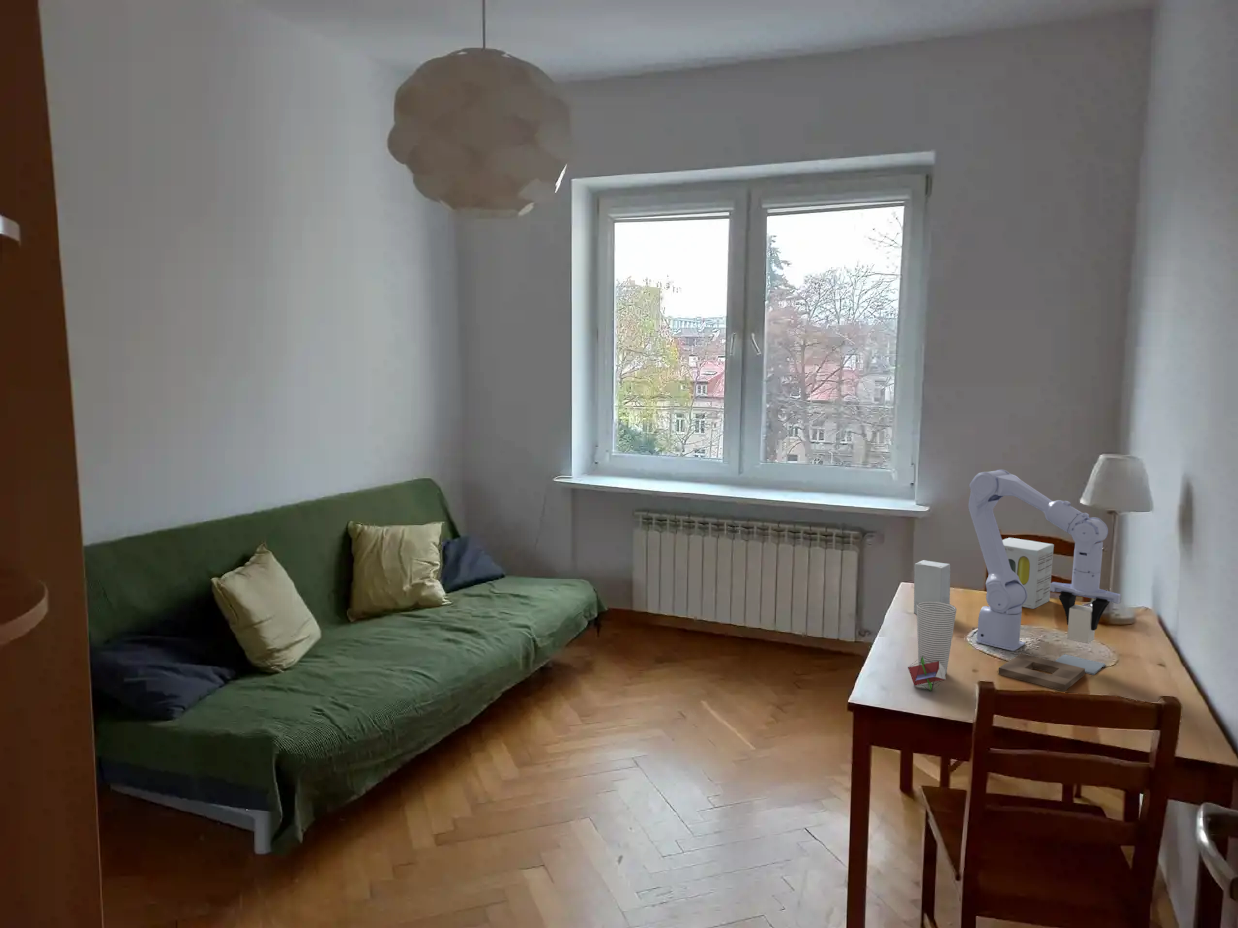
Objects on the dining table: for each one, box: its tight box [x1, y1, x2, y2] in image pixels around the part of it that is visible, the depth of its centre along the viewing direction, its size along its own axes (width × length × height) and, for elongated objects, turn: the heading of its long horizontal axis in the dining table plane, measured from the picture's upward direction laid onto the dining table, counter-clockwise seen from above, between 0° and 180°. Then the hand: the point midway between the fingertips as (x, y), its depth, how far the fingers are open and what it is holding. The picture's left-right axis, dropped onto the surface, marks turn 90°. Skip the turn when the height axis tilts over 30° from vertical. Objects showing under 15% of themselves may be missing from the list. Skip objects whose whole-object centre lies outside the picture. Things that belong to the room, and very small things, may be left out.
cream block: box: [1066, 604, 1096, 645], centre depth 198 cm, size 4×4×8 cm
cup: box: [916, 601, 957, 675], centre depth 193 cm, size 8×8×16 cm
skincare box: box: [913, 559, 951, 615], centre depth 237 cm, size 8×6×15 cm
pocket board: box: [997, 652, 1086, 692], centre depth 193 cm, size 14×14×2 cm
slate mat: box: [1054, 653, 1106, 676], centre depth 200 cm, size 9×9×1 cm
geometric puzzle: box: [907, 655, 947, 693], centre depth 184 cm, size 7×7×8 cm
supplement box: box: [1002, 537, 1055, 609], centre depth 253 cm, size 13×13×18 cm
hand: (1081, 626), depth 198 cm, fingers closed on cream block, 4 cm apart
